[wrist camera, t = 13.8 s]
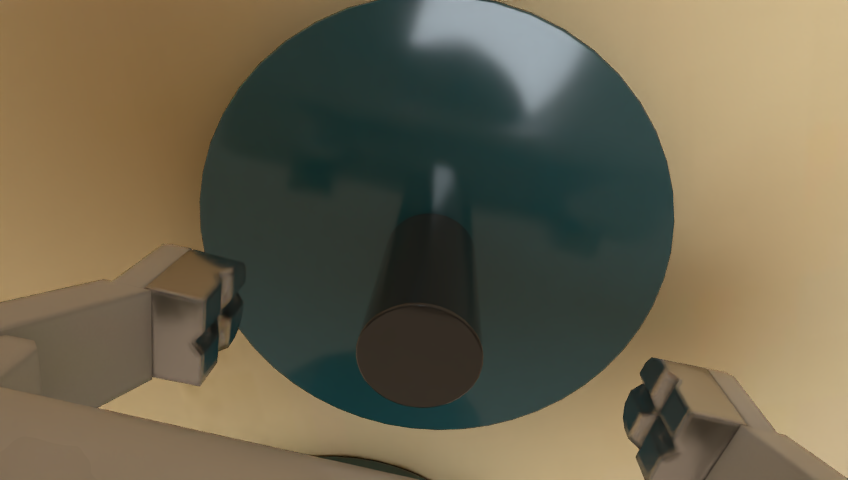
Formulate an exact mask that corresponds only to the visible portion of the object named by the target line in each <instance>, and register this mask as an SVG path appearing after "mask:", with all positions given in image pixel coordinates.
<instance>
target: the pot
mask: <svg viewBox="0 0 848 480" xmlns="http://www.w3.org/2000/svg"><path fill="white" fill-rule="evenodd" d="M320 458H324V459H329V460H333V461H338V462H342V463H347V464H351V465H356V466H360V467H365V468H369V469H374V470H378V471H383V472H387V473H392V474H396V475H401V476H405V477H410V478H414V479H419V480H427V479H425V478H423V477H421V476H418V475H416V474H414V473H412V472H409V471H406V470H404V469H401V468H398V467H396V466H392V465H388V464H385V463H381V462H377V461H372V460H366V459H360V458H352V457H338V456H327V457H320Z"/></svg>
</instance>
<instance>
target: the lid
mask: <svg viewBox="0 0 848 480" xmlns="http://www.w3.org/2000/svg"><path fill="white" fill-rule="evenodd" d="M200 225H201V234H202V240H203V245H204V251H205V253H209V254H213V255H217V256H221V257H225V258H229V259H233V260H237V261H241V262H244V264H245V267H246V279H245V284H244V285H243V286H242V287H241V289H240V290H239V291H238V293H239V295H240V297H241V298H242V300H243V302H244V305H243V314H242V318H241V323H240V326H239V330H240V331H241V332H242V333H243V335H244V336H245V337H246V338H247V340H248V341H249V342H250V343H251V345H252V346H253V347H254V348H255V349H256V350H257V351H258V352H259V353H260V354H261V355H262V356H263V357H264V358H265V359H266V360H267V361H268V362H269V363H270V364H271V365H272V366H273V367H274V368H275V369H276V370H277V371H279V372H280V373H281V374H283V375H284V376H285V377H286V378H288V379H289V380H290V381H291V382H293V383H294V384H295V385H297V386H299V387H300V388H302V389H303V390H305V391H306V392H308V393H310V394H311V395H313V396H314V397H316V398H318V399H320V400H322V401H324V402H326V403H328V404H330V405H332V406H334V407H336V408H338V409H341V410H343V411H346V412H349V413H351V414H354V415H357V416H359V417H362V418H366V419H369V420H373V421H377V422H381V423H384V424H389V425H395V426H401V427H407V428H416V429H431V430H449V429H467V428H474V427H481V426H489V425H493V424H497V423H501V422H505V421H509V420H513V419H516V418H519V417H522V416H525V415H528V414H530V413H533V412H536V411H539V410H541V409H543V408H545V407H547V406H549V405H551V404H553V403H555V402H557V401H559V400H561V399H563V398H565V397H566V396H568V395H569V394H571V393H573V392H574V391H576V390H578V389H579V388H581V387H582V386H584V385H585V384H586V383H588V382H589V381H590V380H591V379H593V378H594V377H595V376H596V375H598V374H599V373H600V372H601V371H603V370H604V369H605V368H606V367H607V366H608V365H609V364H610V363H611V362H612V361H613V360H614V359H615V358H616V357H617V356H618V355H619V354H620V353H621V352H622V351H623V350H624V348H625V347H626V346H627V344H628V343H629V342H630V341H631V339H632V338H633V337H634V335H635V334H636V333H637V331H638V330H639V329H640V327H641V325H642V324H643V322H644V320H645V319H646V317H647V315H648V313H649V312H650V310H651V308H652V306H653V305H654V302H655V300H656V297H657V295H658V292H659V290H660V288H661V285H662V283H663V280H664V277H665V273H666V269H667V265H668V262H669V258H670V254H671V248H672V238H673V229H674V203H673V189H672V184H671V179H670V174H669V169H668V163H667V160H666V157H665V154H664V151H663V148H662V146H661V143H660V140H659V137H658V135H657V132H656V130H655V128H654V126H653V124H652V122H651V121H650V119H649V117H648V115H647V113H646V111H645V110H644V108H643V106H642V104H641V102H640V101H639V99H638V98H637V97H636V96H635V94H634V93H633V92H632V90H631V89H630V88H629V86H628V85H627V84H626V82H625V81H624V80H623V79H622V77H621V76H620V75H619V74H618V73H617V72H616V71H615V70H614V69H613V68H612V67H611V66H610V65H609V64H608V63H607V62H606V61H605V60H604V59H603V58H602V57H601V56H600V55H599V54H598V53H597V52H595V51H594V50H593V49H592V48H590V47H589V46H587V45H586V44H585V43H583V42H582V41H580V40H579V39H578V38H576V37H575V36H573V35H572V34H571V33H569V32H568V31H566V30H565V29H563V28H561V27H559V26H557V25H555V24H553V23H551V22H549V21H547V20H545V19H543V18H541V17H539V16H537V15H535V14H533V13H531V12H528V11H525V10H522V9H519V8H516V7H513V6H510V5H507V4H504V3H501V2H498V1H494V0H374V1H370V2H366V3H363V4H359V5H355V6H352V7H348V8H346V9H344V10H341V11H339V12H337V13H334V14H332V15H330V16H328V17H325V18H323V19H321V20H319V21H316V22H314V23H313V24H311V25H310V26H308V27H307V28H305V29H303V30H302V31H300V32H299V33H297V34H295V35H294V36H292V37H291V38H289V39H288V40H286V41H285V42H284V43H282V44H281V45H280V46H279V47H278V48H277V49H276V50H274V51H273V52H272V53H271V54H270V55H269V56H267V57H266V58H265V59H264V60H263V61H262V62H261V63H260V64H259V65H258V66H257V67H256V68H255V69H254V71H253V72H252V73H251V74H250V75H249V77H248V78H247V79H246V80H245V81H244V82H243V84H242V85H241V86H240V87H239V89H238V90H237V92H236V93H235V95H234V97H233V98H232V100H231V101H230V103H229V105H228V106H227V108H226V110H225V111H224V113H223V114H222V117H221V119H220V121H219V124H218V126H217V128H216V131H215V133H214V135H213V138H212V140H211V142H210V146H209V150H208V154H207V158H206V161H205V165H204V169H203V175H202V184H201V193H200Z"/></svg>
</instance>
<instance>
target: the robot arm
mask: <svg viewBox="0 0 848 480" xmlns="http://www.w3.org/2000/svg"><path fill="white" fill-rule="evenodd" d="M245 279H246V267H245V264H244V262H241V261H237V260H233V259H229V258H225V257H221V256H217V255H213V254H209V253H205V252H201V251H197V250H192V249H191V248H186V247H181V246H177V245H172V244H162V245H161V246H159V247H158V248H157V249H155V250H154V251H152V252H151V253H150V254H148V255H147V256H146V257H144V258H143V259H142V260H140V261H139V262H138V263H136V264H135V265H134V266H132V267H131V268H129V269H128V270H127V271H125V272H124V273H123V274H121V275H120V276H119V277H117V278H116V279H115V280H113V281H109V280H105V279H103V280H98V281H94V282H89V283H85V284H80V285H76V286H71V287H67V288H62V289H58V290H53V291H49V292H44V293H40V294H35V295H30V296H26V297H21V298H17V299H12V300H8V301H3V302H0V480H419V479H414V478H410V477H405V476H401V475H396V474H392V473H387V472H383V471H378V470H374V469H369V468H365V467H360V466H356V465H351V464H347V463H342V462H338V461H333V460H329V459H324V458H320V457H315V456H311V455H306V454H302V453H297V452H293V451H288V450H284V449H279V448H275V447H270V446H266V445H261V444H257V443H252V442H248V441H243V440H239V439H234V438H230V437H225V436H221V435H216V434H212V433H207V432H203V431H198V430H194V429H189V428H185V427H180V426H176V425H171V424H167V423H162V422H158V421H153V420H149V419H144V418H140V417H135V416H131V415H126V414H122V413H117V412H113V411H108V410H104V409H99V408H98V407H100V406H102V405H104V404H106V403H108V402H110V401H111V400H113V399H115V398H117V397H119V396H121V395H123V394H125V393H127V392H129V391H131V390H133V389H134V388H136V387H138V386H140V385H142V384H144V383H146V382H148V381H150V380H152V377H155V378H160V379H165V380H170V381H175V382H181V383H186V384H191V385H196V386H200V385H201V384H202V383H203V381H204V380H205V379H206V377H207V376H208V374H209V373H210V372H211V370H212V369H213V368H214V366H215V365H216V363H217V357H218V351H221V350H223V349H226V348H228V347H229V345H230V344H231V342H232V341H233V339H234V338H235V335H236V333H237V331H238V328H239V326H240V323H241V318H242V314H243V305H244V302H243V300H242V298H241V297H240V295H239V293H238V291H239V290H240V289H241V287H242V286H243V285H244V284H245ZM640 376H641V379H642V382H643V384H641V385H640V386H638V387H636V388H635V389H633V390H631V391H630V394H629V396H628V398H627V400H626V402H625V406H624V414H623V421H624V428H625V431H626V434H627V436H628V439H629V440H630V441H632V442H633V443H634V444H635V445H636V446H637V447H638V448H639V449H640V450H639V452H638V453H637V455H636V459H637V462H638V464H639V467H640V469H641V472H642V474H643V477H644V479H645V480H848V478H846V477H845V476H843V475H842V474H840V473H839V472H838V471H836V470H835V469H833V468H832V467H830V466H829V465H828V464H826V463H825V462H823V461H822V460H820V459H819V458H818V457H816V456H815V455H813V454H812V453H810V452H809V451H808V450H806V449H805V448H803V447H802V446H800V445H799V444H798V443H796V442H795V441H793V440H792V439H790V438H789V437H788V436H786V435H783V434H779V433H777V432H776V431H775V429H774V428H773V427H772V425H771V424H770V423H769V421H768V420H767V419H766V418H765V416H764V415H763V414H762V412H761V411H760V410H759V408H758V407H757V406H756V404H755V403H754V402H753V401H752V399H751V398H750V397H749V395H748V394H747V393H746V391H745V390H744V389H743V388H742V386H741V385H740V384H739V382H738V381H737V380H736V378H735V377H734V376H732V375H730V374H729V373H727V372H723V371H717V370H712V369H707V368H702V367H697V366H692V365H687V364H682V363H677V362H672V361H667V360H662V359H657V358H652V357H651V358H650V359H649V360H648V361H647V362H646V363H645V365H644V366H643V368H642V370H641V372H640Z"/></svg>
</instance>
